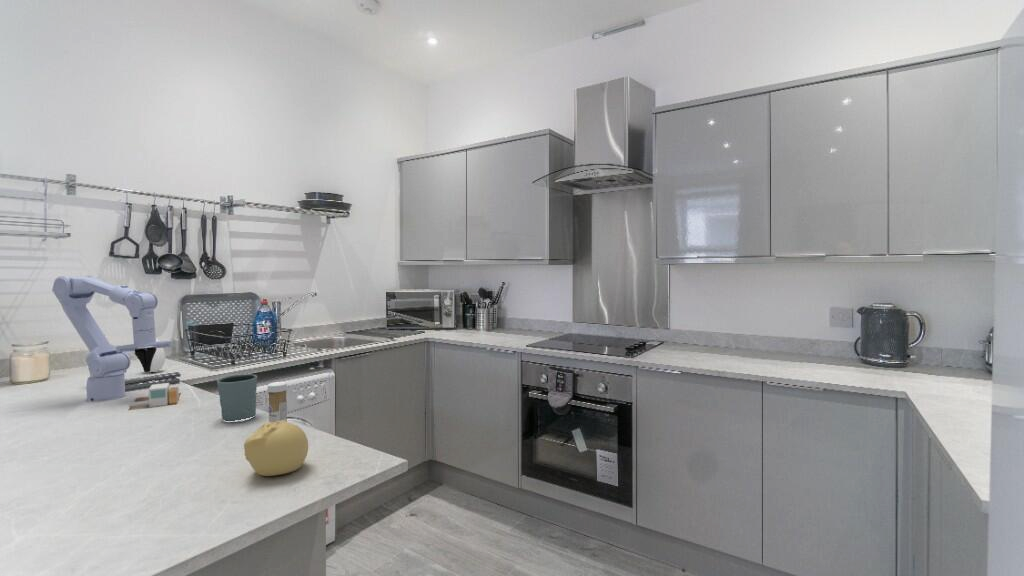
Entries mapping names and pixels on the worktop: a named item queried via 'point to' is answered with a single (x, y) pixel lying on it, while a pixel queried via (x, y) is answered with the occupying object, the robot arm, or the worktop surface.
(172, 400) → the rail
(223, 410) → the teal cup
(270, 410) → the sprinkles bottle
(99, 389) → the robot arm
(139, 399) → the board
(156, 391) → the block
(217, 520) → the worktop surface
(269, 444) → the sculpture
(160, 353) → the sauce bottle
